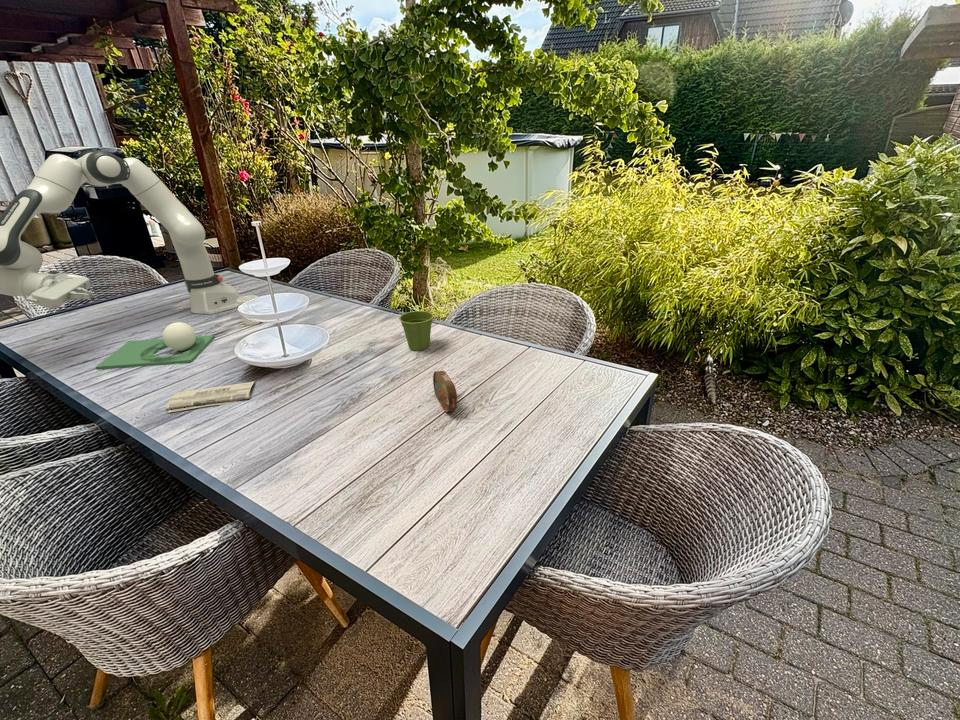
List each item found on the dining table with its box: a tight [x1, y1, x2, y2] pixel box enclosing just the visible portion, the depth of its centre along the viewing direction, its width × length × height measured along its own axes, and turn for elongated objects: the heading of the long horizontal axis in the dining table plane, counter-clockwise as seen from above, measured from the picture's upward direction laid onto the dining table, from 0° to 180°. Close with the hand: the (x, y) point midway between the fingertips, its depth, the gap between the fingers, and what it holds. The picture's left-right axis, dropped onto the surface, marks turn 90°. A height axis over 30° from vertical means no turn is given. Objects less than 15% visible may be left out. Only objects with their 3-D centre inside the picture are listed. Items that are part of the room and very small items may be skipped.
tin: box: [432, 370, 458, 413], centre depth 133 cm, size 15×3×8 cm, turn 21°
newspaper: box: [165, 381, 256, 413], centre depth 141 cm, size 23×12×2 cm, turn 104°
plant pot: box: [398, 310, 435, 351], centre depth 166 cm, size 12×12×11 cm
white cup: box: [237, 294, 260, 326], centre depth 191 cm, size 8×8×10 cm
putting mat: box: [95, 334, 216, 370], centre depth 170 cm, size 30×21×1 cm
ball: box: [162, 321, 197, 352], centre depth 170 cm, size 10×10×10 cm
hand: (90, 295), depth 162 cm, fingers closed
